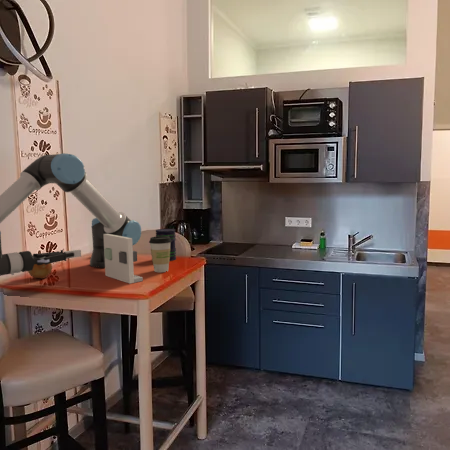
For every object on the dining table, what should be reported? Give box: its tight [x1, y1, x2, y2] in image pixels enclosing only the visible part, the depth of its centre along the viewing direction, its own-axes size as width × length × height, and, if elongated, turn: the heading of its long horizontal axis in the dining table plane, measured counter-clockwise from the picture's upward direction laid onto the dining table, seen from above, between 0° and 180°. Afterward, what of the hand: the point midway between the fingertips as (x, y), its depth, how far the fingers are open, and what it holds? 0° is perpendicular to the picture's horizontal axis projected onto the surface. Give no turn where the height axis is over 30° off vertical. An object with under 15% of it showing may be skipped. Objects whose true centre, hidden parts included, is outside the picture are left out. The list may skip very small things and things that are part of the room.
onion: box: [27, 263, 53, 279], centre depth 198 cm, size 10×10×10 cm
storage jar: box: [155, 228, 177, 262], centre depth 234 cm, size 10×10×15 cm
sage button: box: [104, 248, 112, 260], centre depth 199 cm, size 4×6×4 cm, turn 132°
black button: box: [119, 250, 138, 263], centre depth 190 cm, size 4×6×4 cm, turn 132°
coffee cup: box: [148, 236, 171, 273], centre depth 208 cm, size 10×10×15 cm
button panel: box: [103, 234, 144, 284], centre depth 195 cm, size 20×6×18 cm, turn 42°
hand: (80, 252), depth 188 cm, fingers closed
